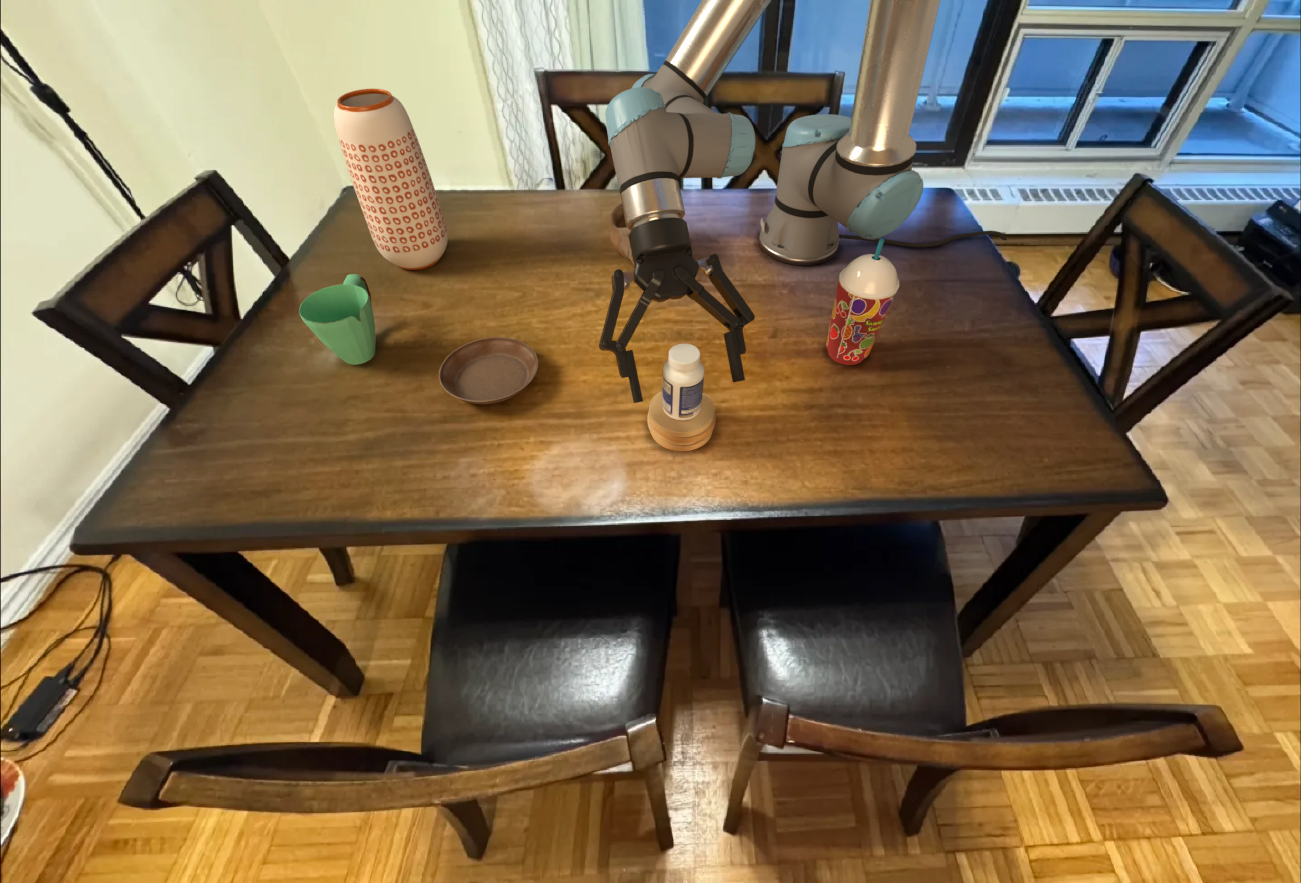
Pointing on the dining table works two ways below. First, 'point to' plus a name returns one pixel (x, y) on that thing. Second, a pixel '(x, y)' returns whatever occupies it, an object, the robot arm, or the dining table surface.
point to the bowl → (620, 233)
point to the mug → (343, 319)
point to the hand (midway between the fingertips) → (689, 392)
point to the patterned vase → (391, 178)
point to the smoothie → (861, 306)
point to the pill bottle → (683, 382)
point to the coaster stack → (681, 426)
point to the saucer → (488, 370)
